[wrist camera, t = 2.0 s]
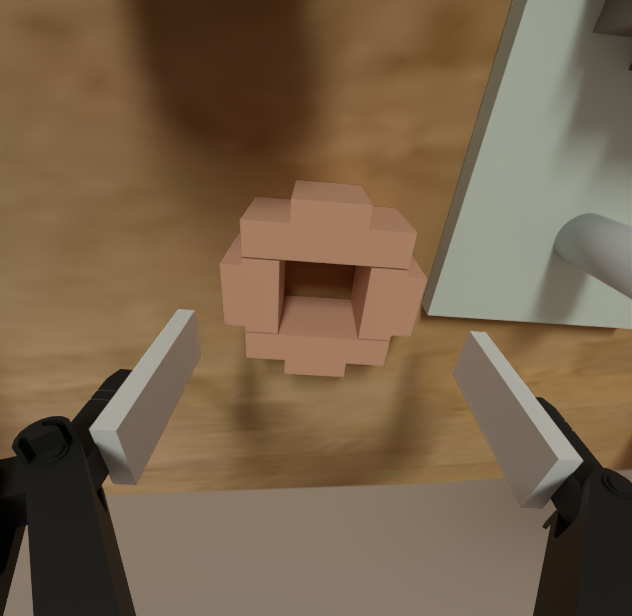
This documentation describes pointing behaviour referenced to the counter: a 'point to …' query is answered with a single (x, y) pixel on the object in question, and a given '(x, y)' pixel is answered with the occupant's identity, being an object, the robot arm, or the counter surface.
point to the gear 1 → (324, 247)
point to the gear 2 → (615, 19)
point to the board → (545, 179)
